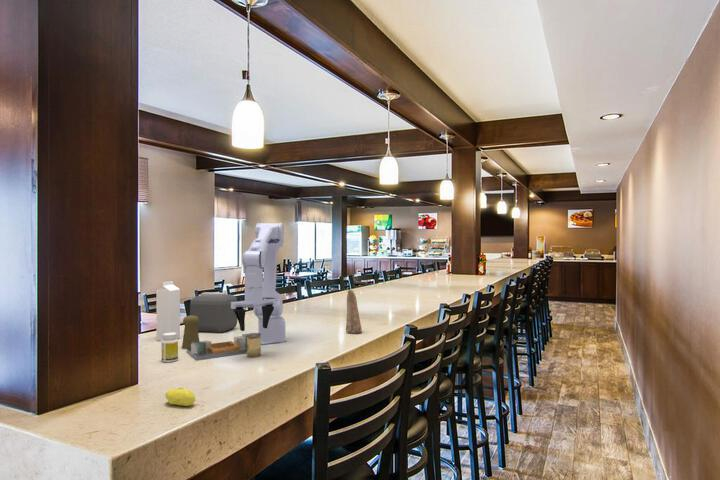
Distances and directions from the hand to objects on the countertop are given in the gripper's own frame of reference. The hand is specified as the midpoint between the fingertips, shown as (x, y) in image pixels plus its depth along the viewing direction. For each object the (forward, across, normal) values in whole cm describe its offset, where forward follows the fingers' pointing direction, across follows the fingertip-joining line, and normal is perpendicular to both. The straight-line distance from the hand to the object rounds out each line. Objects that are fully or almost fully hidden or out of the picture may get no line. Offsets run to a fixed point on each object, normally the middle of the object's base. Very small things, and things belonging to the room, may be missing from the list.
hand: (253, 329), depth 150 cm
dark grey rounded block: (+9, +1, +50) cm, 51 cm away
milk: (+9, -18, +42) cm, 47 cm away
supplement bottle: (+9, -24, +9) cm, 27 cm away
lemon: (+9, -30, -33) cm, 45 cm away
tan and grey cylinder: (+9, 0, 0) cm, 9 cm away
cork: (+9, -14, +24) cm, 29 cm away
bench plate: (+9, -7, +11) cm, 16 cm away
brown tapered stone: (+9, +47, +13) cm, 50 cm away
